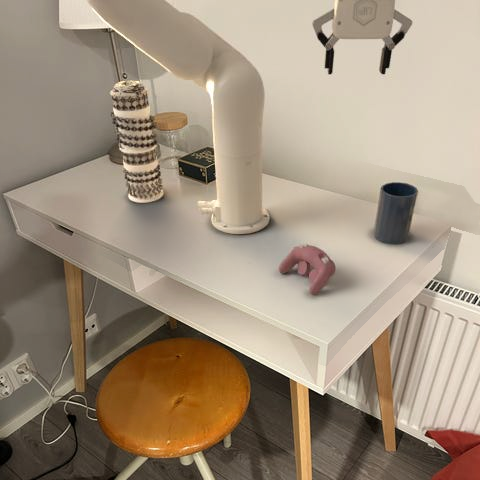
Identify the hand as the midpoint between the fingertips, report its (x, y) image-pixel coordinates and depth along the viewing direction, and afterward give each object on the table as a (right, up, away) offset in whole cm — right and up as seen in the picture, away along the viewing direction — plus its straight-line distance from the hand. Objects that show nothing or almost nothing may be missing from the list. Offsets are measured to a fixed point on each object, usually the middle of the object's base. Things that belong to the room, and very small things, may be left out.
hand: (355, 72), depth 90 cm
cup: (+9, -29, +8) cm, 32 cm away
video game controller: (-10, -39, -3) cm, 40 cm away
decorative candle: (-45, -16, +27) cm, 55 cm away
